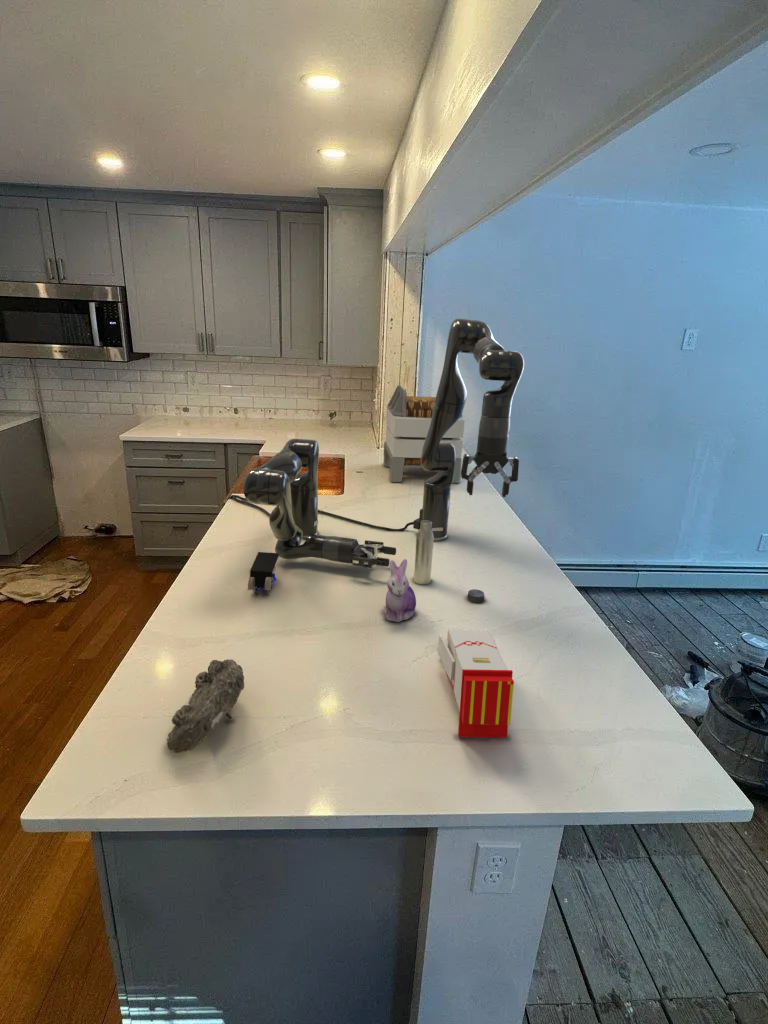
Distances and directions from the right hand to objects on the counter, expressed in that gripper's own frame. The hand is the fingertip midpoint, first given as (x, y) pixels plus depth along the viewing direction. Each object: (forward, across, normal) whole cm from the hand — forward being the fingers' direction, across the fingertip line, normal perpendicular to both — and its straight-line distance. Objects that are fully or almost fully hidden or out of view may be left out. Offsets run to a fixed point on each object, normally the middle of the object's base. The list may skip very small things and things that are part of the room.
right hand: (486, 495), depth 147 cm
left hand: (+24, +24, -12) cm, 36 cm away
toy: (+30, +5, +41) cm, 51 cm away
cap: (+29, 0, 0) cm, 29 cm away
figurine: (+30, +21, +11) cm, 38 cm away
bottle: (+30, +15, -9) cm, 35 cm away
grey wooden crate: (+30, +15, -125) cm, 129 cm away
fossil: (+30, +55, +54) cm, 83 cm away
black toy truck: (+30, +59, +1) cm, 66 cm away
